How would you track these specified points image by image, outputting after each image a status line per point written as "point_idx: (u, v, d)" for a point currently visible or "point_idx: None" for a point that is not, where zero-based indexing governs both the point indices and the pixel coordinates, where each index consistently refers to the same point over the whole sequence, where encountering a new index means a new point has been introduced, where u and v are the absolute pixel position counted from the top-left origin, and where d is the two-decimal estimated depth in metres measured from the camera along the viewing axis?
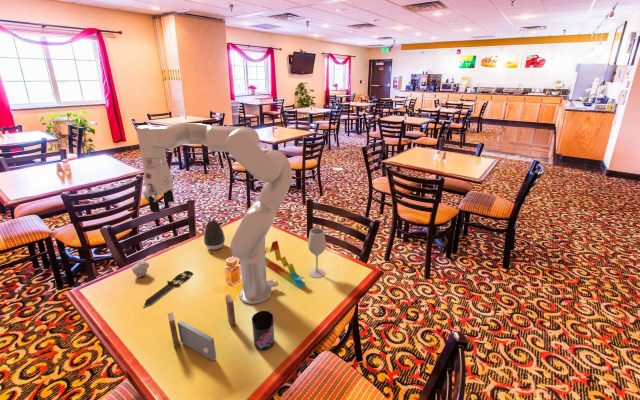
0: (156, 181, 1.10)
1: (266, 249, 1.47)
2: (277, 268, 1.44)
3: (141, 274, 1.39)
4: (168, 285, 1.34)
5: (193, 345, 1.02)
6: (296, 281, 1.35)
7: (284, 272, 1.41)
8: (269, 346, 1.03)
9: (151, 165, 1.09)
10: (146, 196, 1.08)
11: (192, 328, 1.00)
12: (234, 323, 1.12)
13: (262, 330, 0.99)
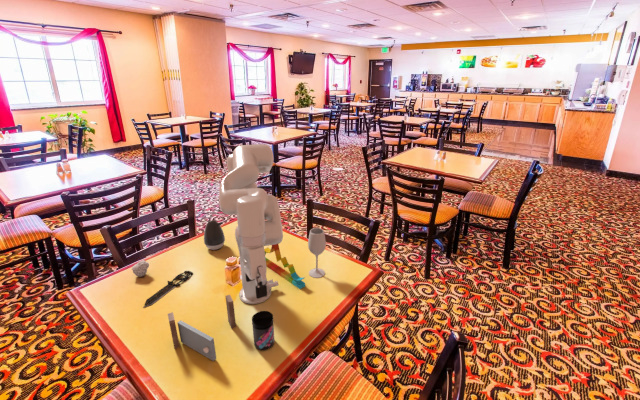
0: None
1: (266, 249, 1.47)
2: (277, 269, 1.44)
3: (141, 274, 1.39)
4: (168, 285, 1.34)
5: (193, 345, 1.02)
6: (296, 282, 1.35)
7: (285, 273, 1.41)
8: (269, 346, 1.03)
9: None
10: None
11: (192, 328, 1.00)
12: (234, 323, 1.12)
13: (262, 330, 1.00)
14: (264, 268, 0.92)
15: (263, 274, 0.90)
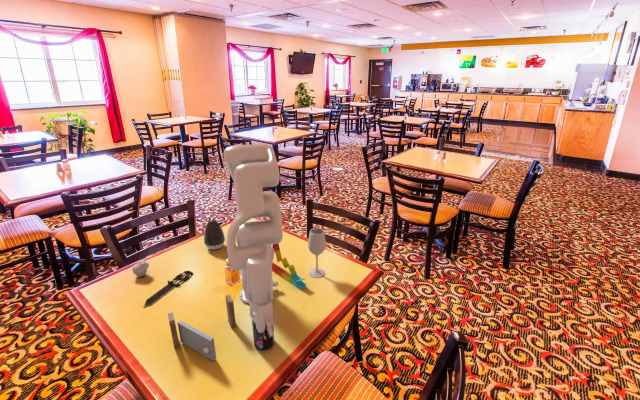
0: None
1: None
2: (277, 269, 1.43)
3: (141, 274, 1.39)
4: (168, 285, 1.34)
5: (193, 345, 1.02)
6: (297, 282, 1.34)
7: (285, 273, 1.40)
8: (269, 346, 1.03)
9: None
10: None
11: (192, 328, 1.00)
12: (234, 323, 1.12)
13: None
14: (272, 321, 0.98)
15: (271, 330, 0.96)
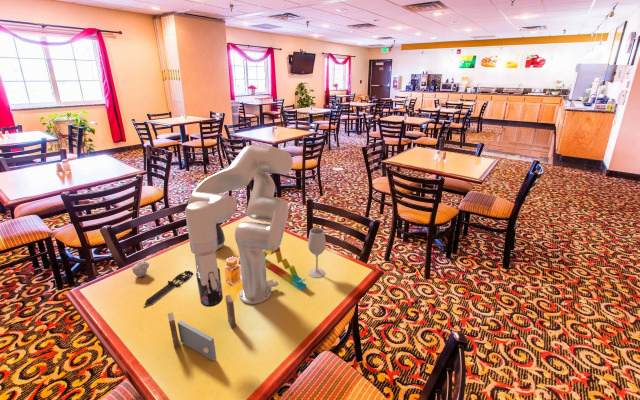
0: None
1: (267, 251, 1.46)
2: (278, 270, 1.43)
3: (141, 274, 1.39)
4: (168, 285, 1.34)
5: (193, 345, 1.02)
6: (298, 283, 1.34)
7: (286, 274, 1.40)
8: (215, 302, 0.97)
9: None
10: None
11: (192, 328, 1.00)
12: (234, 323, 1.12)
13: None
14: (216, 274, 0.92)
15: (213, 282, 0.90)
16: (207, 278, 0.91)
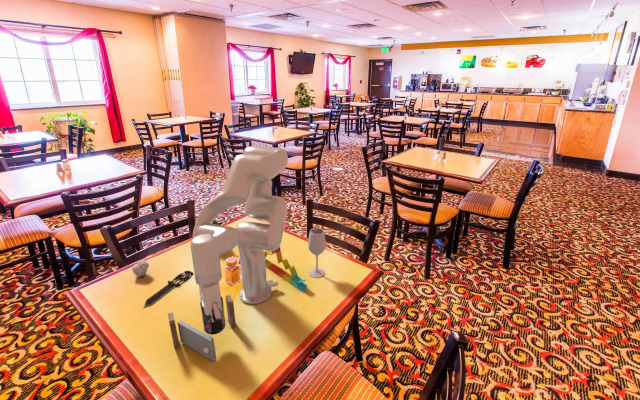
0: None
1: (267, 251, 1.45)
2: (278, 270, 1.42)
3: (141, 274, 1.39)
4: (168, 285, 1.34)
5: (193, 345, 1.02)
6: (298, 284, 1.33)
7: (286, 275, 1.40)
8: (218, 330, 1.00)
9: None
10: None
11: (192, 328, 1.00)
12: (234, 323, 1.12)
13: None
14: (219, 304, 0.96)
15: (217, 312, 0.94)
16: (211, 308, 0.94)
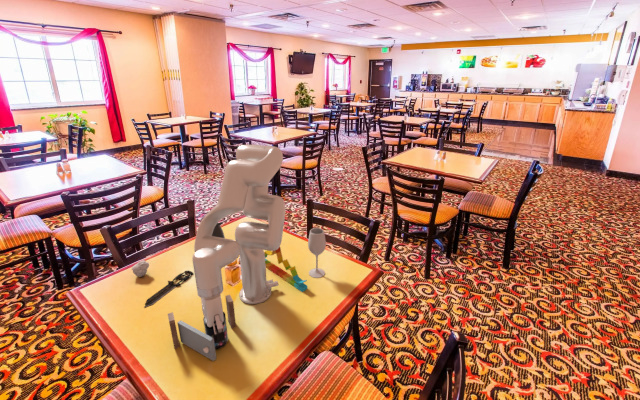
0: None
1: (268, 252, 1.45)
2: (279, 271, 1.42)
3: (141, 274, 1.39)
4: (169, 285, 1.34)
5: (193, 345, 1.02)
6: (299, 284, 1.33)
7: (286, 275, 1.39)
8: (221, 345, 1.03)
9: None
10: None
11: (192, 328, 1.00)
12: (234, 323, 1.12)
13: None
14: (221, 316, 0.97)
15: (219, 323, 0.95)
16: (212, 318, 0.96)
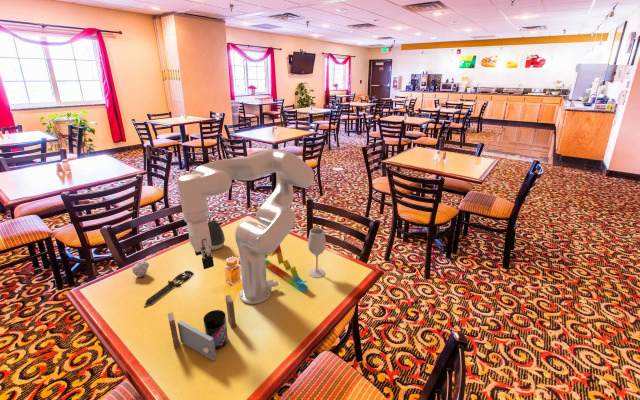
0: None
1: None
2: (279, 272, 1.42)
3: (141, 274, 1.39)
4: (169, 285, 1.34)
5: (193, 345, 1.02)
6: (299, 285, 1.33)
7: (287, 276, 1.39)
8: (221, 345, 1.03)
9: None
10: None
11: (192, 328, 1.00)
12: (234, 323, 1.12)
13: (213, 329, 1.00)
14: (209, 241, 1.00)
15: (207, 246, 0.97)
16: (200, 242, 0.98)
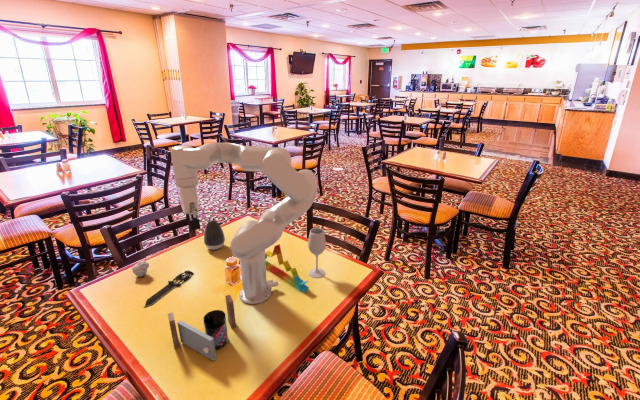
0: None
1: (268, 253, 1.44)
2: (279, 272, 1.41)
3: (141, 274, 1.39)
4: (169, 285, 1.34)
5: (193, 345, 1.02)
6: (300, 285, 1.32)
7: (287, 276, 1.38)
8: (221, 345, 1.03)
9: None
10: None
11: (192, 328, 1.00)
12: (234, 323, 1.12)
13: (213, 329, 1.00)
14: (196, 205, 1.13)
15: (194, 208, 1.11)
16: (188, 205, 1.12)
